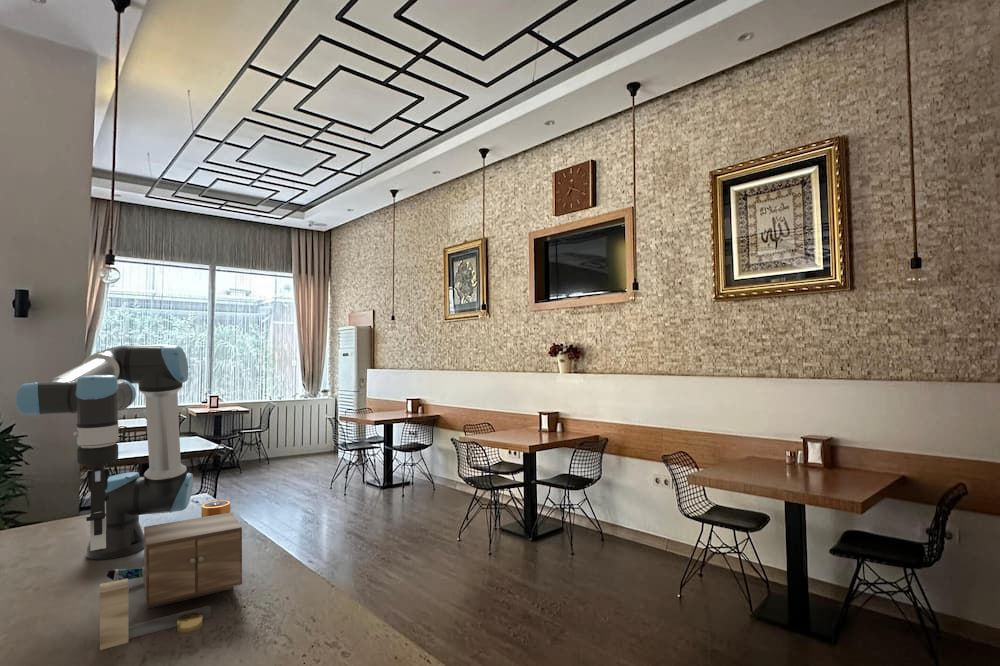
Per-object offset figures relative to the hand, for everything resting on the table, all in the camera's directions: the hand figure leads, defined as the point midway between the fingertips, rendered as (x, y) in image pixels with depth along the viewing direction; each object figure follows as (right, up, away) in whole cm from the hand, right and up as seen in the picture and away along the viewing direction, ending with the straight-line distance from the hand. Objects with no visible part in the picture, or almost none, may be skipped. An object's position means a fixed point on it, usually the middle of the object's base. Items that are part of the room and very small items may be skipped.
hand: (98, 539), depth 125 cm
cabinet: (+14, -21, +14) cm, 28 cm away
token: (+20, -21, +1) cm, 29 cm away
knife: (-1, -21, +30) cm, 37 cm away
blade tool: (+13, -20, 0) cm, 24 cm away
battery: (+11, -21, +29) cm, 38 cm away
